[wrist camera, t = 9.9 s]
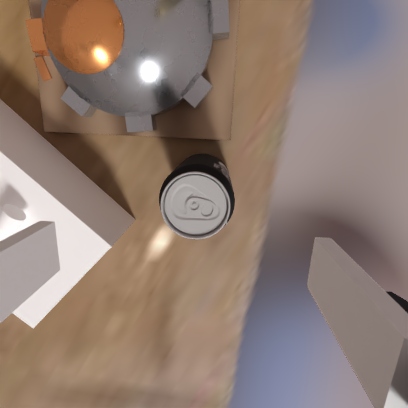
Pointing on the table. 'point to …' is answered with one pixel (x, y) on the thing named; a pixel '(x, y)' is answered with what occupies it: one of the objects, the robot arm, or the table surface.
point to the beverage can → (197, 197)
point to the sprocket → (130, 53)
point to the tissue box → (53, 209)
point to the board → (166, 122)
